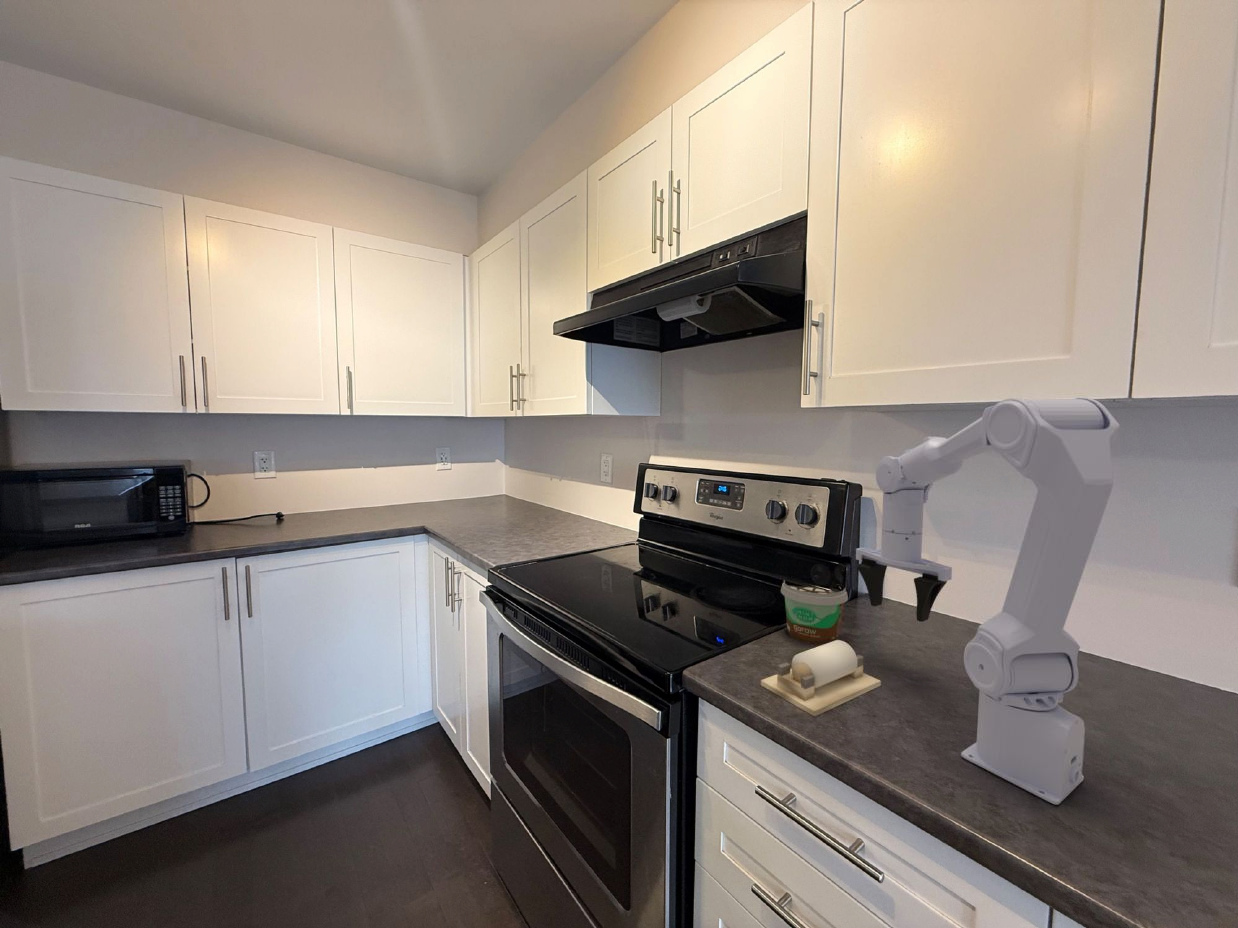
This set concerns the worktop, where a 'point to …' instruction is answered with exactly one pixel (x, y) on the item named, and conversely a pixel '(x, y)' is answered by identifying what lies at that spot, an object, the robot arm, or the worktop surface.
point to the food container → (813, 613)
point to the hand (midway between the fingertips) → (898, 612)
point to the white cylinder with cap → (825, 663)
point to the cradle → (819, 688)
